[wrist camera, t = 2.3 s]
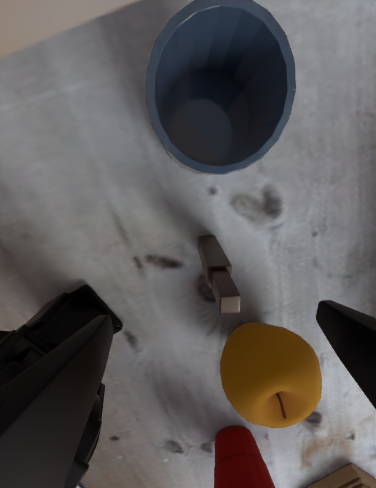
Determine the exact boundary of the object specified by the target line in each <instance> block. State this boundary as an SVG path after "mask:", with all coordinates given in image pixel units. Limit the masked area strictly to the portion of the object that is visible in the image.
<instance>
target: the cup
mask: <svg viewBox="0 0 376 488" xmlns="http://www.w3.org/2000/svg"><path fill="white" fill-rule="evenodd" d="M295 89H296V82H295V62H294V57H293V54H292V51H291V48H290V45H289V42H288V39H287V36H286V34H285V32H284V31H283V29H282V28H281V27H280V25H279V24H278V23H277V21H276V20H275V18H274V17H273V16H272V14H271V13H270V12H269V11H268V10H267V9H265V8H263V7H262V6H260V5H259V4H257V3H256V2H254V1H253V0H194V1H192V2H191V3H189V4H188V5H187V6H185V7H184V8H183V9H182V10H180V11H179V12H178V13H176V14H175V15H174V16H173V17H172V18H171V19H170V20H169V22H168V23H167V25H166V26H165V28H164V29H163V31H162V33H161V34H160V36H159V37H158V39H157V40H156V42H155V44H154V47H153V51H152V54H151V58H150V61H149V64H148V68H147V73H146V102H147V106H148V110H149V114H150V118H151V122H152V126H153V128H154V130H155V131H156V133H157V135H158V137H159V139H160V140H161V142H162V144H163V146H164V147H165V149H166V151H167V152H168V154H169V156H170V157H171V158H172V159H173V160H174V161H175V162H176V163H177V164H178V165H179V166H180V167H182V168H183V169H186V170H188V171H190V172H192V173H195V174H205V175H221V174H227V173H231V172H235V171H239V170H242V169H244V168H246V167H248V166H249V165H251V164H253V163H254V162H256V161H258V160H259V159H261V158H262V157H263V156H264V155H265V154H266V153H267V152H268V151H269V149H270V148H271V147H272V146H273V145H274V144H275V143H276V142H277V140H278V139H279V137H280V135H281V133H282V131H283V129H284V127H285V125H286V123H287V121H288V119H289V116H290V114H291V109H292V105H293V100H294V96H295V91H296V90H295Z"/></svg>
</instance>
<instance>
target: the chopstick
mask: <svg viewBox="0 0 376 488" xmlns="http://www.w3.org/2000/svg"><path fill="white" fill-rule="evenodd" d="M198 247H199V254H200V259H201V263H202V267H203V271H204V275H205V279H206V283H207V287H208V288H213V292H214V295H215V299H216V302H217V306H218V309H219V312H220V313H238V312H240V299H241V295H240V293H239V291H238V289H237V287H236V285H235V283H234V281H233V279H232V277H231V270H232V265H231V264H230V262H229V260H228V258H227V257H226V255H225V253H224V251H223V250H222V248H221V246H220V244H219V242H218V241H217V239H216V237H215V235H205V236H198Z"/></svg>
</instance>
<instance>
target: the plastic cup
mask: <svg viewBox="0 0 376 488" xmlns="http://www.w3.org/2000/svg"><path fill="white" fill-rule="evenodd" d="M215 440H216V442H215V468H214V488H275V486H274V484H273V481H272V479H271V476H270V474H269V471H268V469H267V466H266V464H265V462H264V461H263V458H262V456H261V454H260V451H259V449H258V446H257V444H256V441H255V439H254V437H253V436H252V434H251V432H250V430H248V429H246V428H244V427H239V426H234V427H228V428H225V429H223V430H222V431H220V432H219V433H218V434H217V436H216V437H215Z"/></svg>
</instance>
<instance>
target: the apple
mask: <svg viewBox="0 0 376 488" xmlns="http://www.w3.org/2000/svg"><path fill="white" fill-rule="evenodd" d="M220 373H221V380H222V386H223V389H224V392H225V394H226V397H227V399H228V400H229V401H230V403H231V404H232V406H233V407H234V408H235V410H236V411H237V413H239V414H240V415H241V416H242V417H243V418H245V419H246V420H247V421H249V422H251V423H253V424H257V425H262V426H266V427H271V428H284V427H288V426H291V425H294V424H296V423H298V422H300V421H302V420H304V419H306V418H307V417H308V416H309V415H310V414H311V413H312V412H313V411H314V410H315V408H316V406H317V405H318V403H319V401H320V399H321V389H322V378H321V371H320V365H319V360H318V357H317V356H316V354H315V352H314V350H313V348H312V347H311V346H310V345H309V344H308V343H307V342H306V341H305V340H304V339H302V338H301V337H300V336H299V335H297V334H295V333H293V332H291V331H289V330H287V329H285V328H283V327H278V326H273V325H268V324H263V323H254V322H251V323H244V324H242V325H240V326H239V327H237V328H236V329H235V330H234V331H233V332H232V334H231V335H230V336H229V338H228V339H227V341H226V343H225V346H224V348H223V352H222V357H221V361H220Z"/></svg>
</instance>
